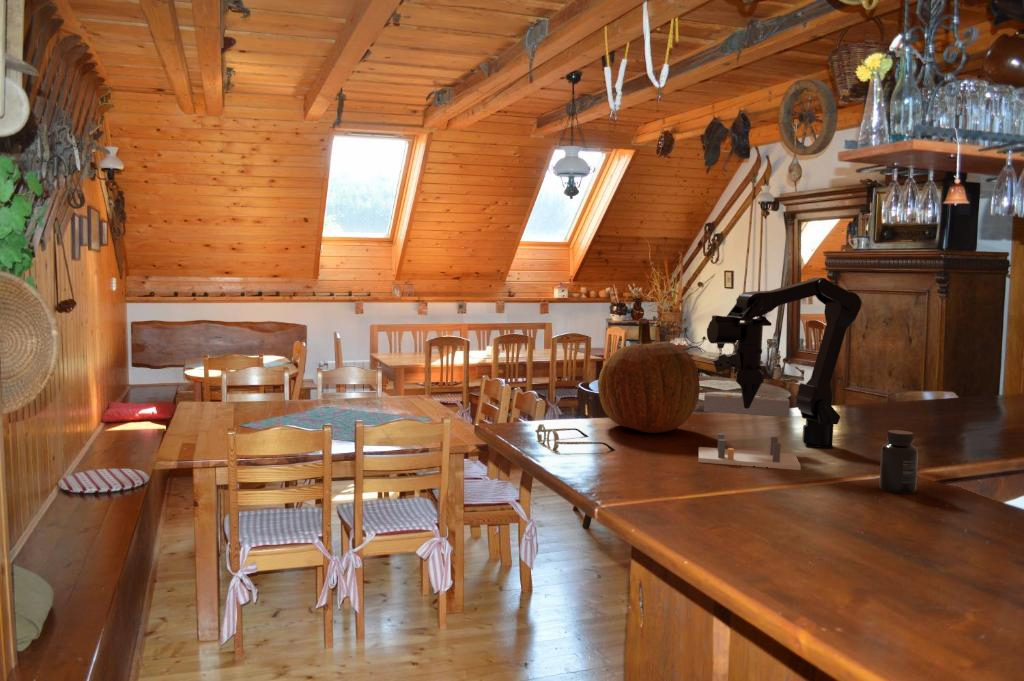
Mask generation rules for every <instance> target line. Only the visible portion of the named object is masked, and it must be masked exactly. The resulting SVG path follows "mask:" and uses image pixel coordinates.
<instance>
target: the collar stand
mask: <svg viewBox="0 0 1024 681" xmlns="http://www.w3.org/2000/svg"><path fill="white" fill-rule="evenodd" d="M717 434H718V435H717V447H707V446H706V447H705V446H704V447H703V446H698V463H702V464H703V463H704V464H714V465H715V464H716V465H729V466H732V465H733V466H740V465H741V466H742V467H753V466H755V468H756V467H757V468H766V467H768V468H770V469H780V470H794V471H801V468H802V466H801V463H800V462H799V459H798V458H797V456H796V453H786V452H785V453H784V452H781V448H782V447H781V445H782V444H781V443H779V437H777V436H771V437H770V447H769V448H770V449H769V451H761V450H760V451H759V450H758V451H757V450H745V449H734V448H733V447H732V448H731V447H728V448H726V439H725V436H726V435H725V433H721V432H720V433H719V432H718V433H717Z"/></svg>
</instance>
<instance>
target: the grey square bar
mask: <svg viewBox="0 0 1024 681" xmlns="http://www.w3.org/2000/svg"><path fill="white" fill-rule="evenodd" d="M703 396H704V399H703V412H705V413H720V414H734V415H748V416H761V417H762V416H763V417H777V418H789V416H790V403H791V402H790V399H789V398H786V397H785V398H783V397H769V396H768V397H767V396H756V395H755V397H754V399H753V401H752V403H751V405H750V407H749V408H748V409H747V408H744V402H743V396H742V395H739V394H736V395H735V394H732V393H731V394H729V393H727V394H724V393H723V394H719V393H706V392H705V393H704V395H703Z"/></svg>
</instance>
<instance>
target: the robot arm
mask: <svg viewBox="0 0 1024 681" xmlns="http://www.w3.org/2000/svg"><path fill="white" fill-rule="evenodd" d="M811 297H816V299H817V300H818V301H819V302H821V303H822V304H823V305H824V318H825V322H826V323H825V328H824V332H823V336H822V338H821V342H820V345H819V349H818V352H817V355H816V360H815V361H814V362H815V363H814V366H813V370H812V373H811V376H810V378H809V379H808V381H807V382H806V383H803V382H800V383H799V385H798V390H797V394H796V396H794V397H795V399H796V407H797V409H798V410H799V411H800V415H801V418H802V419H804V420H805V424H803V426H802V442H803V443H804V446H805V447H809V448H823V449H824V448H825V449H834V445H833V438H834V425H838V424H839V422H840V420H841V415H840V414H839V413H838V412H837V410H835V408H834V407H833V398H834V395H833V390H832V380H833V377H834V374H835V370H836V366H837V363H838V360H839V356H840V353H841V351H842V350H841V349H842V347H843V343H844V339H845V335H846V333H847V330H848V328H849V327H850V326H851V325H852V324H853V323H854V321H855V320H856V319H857V318H858V315H859V313H860V310H861V309H862V306H863V305H862V304H863V302H862V299H861V298H860V296H859V295H858V294H857V293H856V292H853V291H852V292H851V291H848V290H847V289H845V288H843V287H841V286H839V285H838V284H835V283H833V282H832V281H830V280H828V279H827V278H826V277H811V278H810V279H807V280H804V281H800V282H797V283H794V284H789V285H785V286H782V287H778V288H775V289H772V290H760V291H759V290H757V291H745V292H742V293H740V294H739V295H738V298H737V299H736V302H735V305H733V307H732V308H731V310H730V311H729V312H728V314H726V316H725V315H724V316H722V315H715V314H714V315H713V314H712V315H711V320H710V321H709V323H708V326H707V329H706V337H707V340H708V342H709V343H710V344H721V345H723V344H725V345H726V344H729V345H730V344H732V345H733V344H735V343H736V342H737V346H736V347H735V350H734V351H735V352H732V353H729V354H725V353H723V354H719V355H718V357H715V358H713V359H712V362H713V364H714V367H715V371H716V373H721V372H723V371H725V370H730V369H732V368H733V374H734V378H735V382H736V383H737V385H739V387H740V392H741V396H743V402H744V408H747V409H748V408H749V407H750V405H751V403H752V401H753V399H754V397H755V396H756V395H757V393H758V392H759V388H761V385H762V384H763V383H764V381H765V380H764V379H765V374H764V373H763V372H762V366H761V364H762V354H763V347H762V346H763V333H764V332H763V330H764V326H765V327H771V326H772V322H771V321H770V320H769V319H767V316H766V315H767V314H768V313H771V312H773V311H774V310H775V309H776V308H777V307H780V306H783V305H786V304H790V303H793V302H796V301H800V300H804V299H807V298H811ZM741 321H742V322H741Z"/></svg>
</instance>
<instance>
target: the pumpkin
mask: <svg viewBox="0 0 1024 681" xmlns="http://www.w3.org/2000/svg"><path fill="white" fill-rule="evenodd" d="M651 337H652V336H651V325H650V320H649V319H647V318H644V317H643V318H640V319H639V321H638V335H637V343H635V344H634V343H633V344H630V345H626V346H623V347H619V348H618V349H617V350H616V351H614V352H613V353H612V354H611V355H610V356H609V358H607V360H606V362H605V363H604V365H603V366H602V368H601V370H600V372H599V375H598V376H599V377H598V379H597V380H598V381H597V387H598V390H597V391H598V396H599V401H600V404H601V407H602V410H603V411H604V413H605V414H606V416H607V417H608V418H609V419H610V420H611V421H612V422H614V423H615V424H617V425H618V426H622V427H626V428H629V429H633V430H636V431H640V432H643V433H647V434H648V433H649V434H661V433H666V432H669V431H672V430H676V429H678V428H679V427H681V426H682V425H683V424H685V422H686V421H687V420H688V419H689V418H690V417H691V415H692V414H693V413H694V412H695V410H696V407H697V405H698V402H699V399H700V398H699V397H700V388H701V387H700V377H699V376H700V375H699V370H698V367H697V365H696V362H695V360H694V358H693V357H692V356H691V355H690V353H688V352H687V350H685V349H684V348H682V347H681V346H679V345H677V344H675V343H673V342H670V341H659V342H652V338H651Z"/></svg>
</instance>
